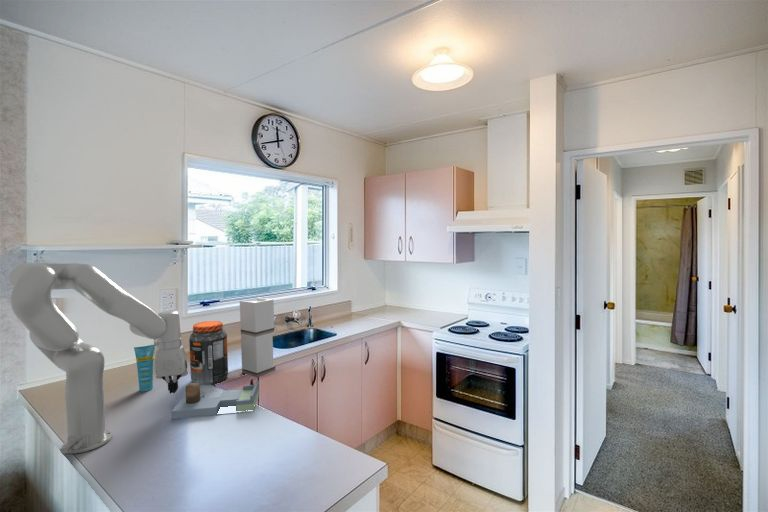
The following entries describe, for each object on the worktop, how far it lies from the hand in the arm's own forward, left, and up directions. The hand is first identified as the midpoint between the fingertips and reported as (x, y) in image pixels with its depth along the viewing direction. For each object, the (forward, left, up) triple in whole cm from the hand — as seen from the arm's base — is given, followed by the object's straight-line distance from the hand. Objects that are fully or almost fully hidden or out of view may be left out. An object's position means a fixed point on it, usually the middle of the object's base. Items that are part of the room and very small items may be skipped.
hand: (173, 391), depth 143 cm
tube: (+24, +19, -7) cm, 31 cm away
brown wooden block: (0, -7, -4) cm, 8 cm away
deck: (0, -16, -7) cm, 18 cm away
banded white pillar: (+36, -26, -7) cm, 45 cm away
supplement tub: (+31, -5, -7) cm, 32 cm away
